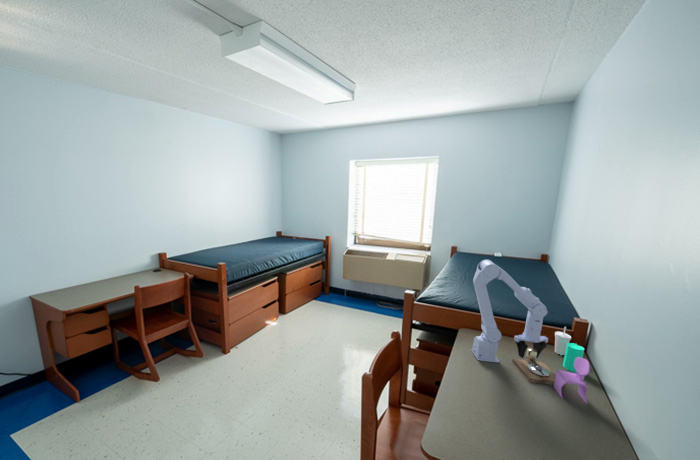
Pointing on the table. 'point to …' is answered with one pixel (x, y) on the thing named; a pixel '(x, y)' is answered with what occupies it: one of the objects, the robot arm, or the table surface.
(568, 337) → the smoothie
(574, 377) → the chair
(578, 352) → the candle
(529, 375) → the stand
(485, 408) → the table surface
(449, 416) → the table surface
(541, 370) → the crank dial
